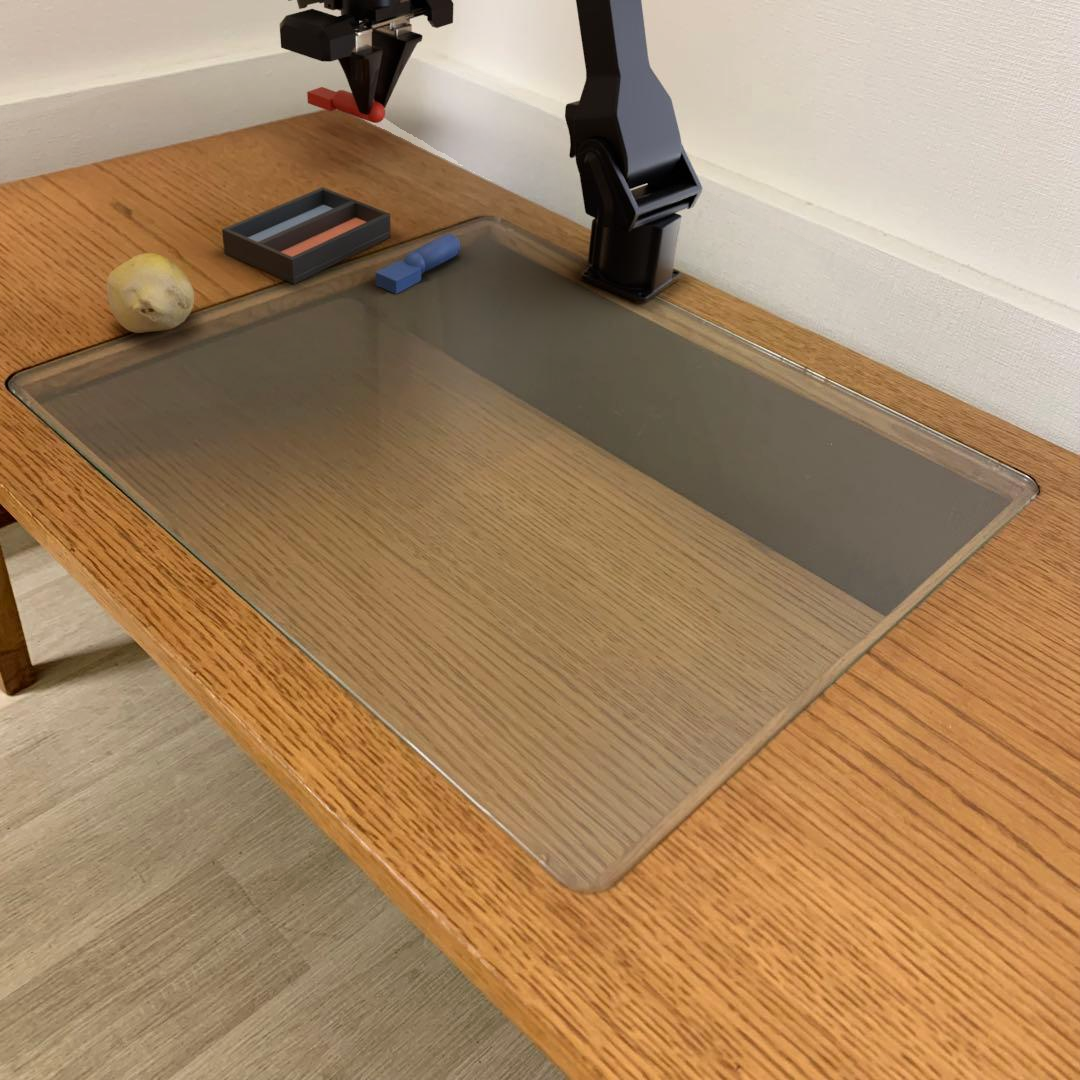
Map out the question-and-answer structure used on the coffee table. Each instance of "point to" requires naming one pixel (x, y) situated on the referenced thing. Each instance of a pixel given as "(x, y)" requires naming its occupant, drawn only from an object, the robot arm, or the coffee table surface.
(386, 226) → the tray
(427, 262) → the blue block-ended handle
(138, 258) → the fruit
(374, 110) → the red capsule-ended rod
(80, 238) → the coffee table surface
